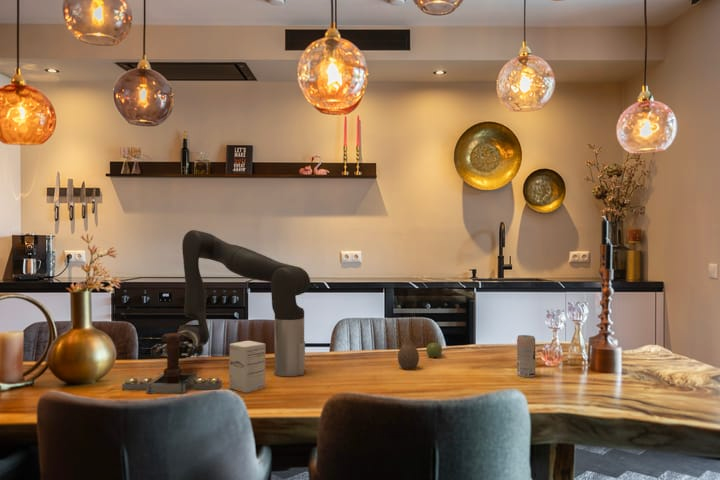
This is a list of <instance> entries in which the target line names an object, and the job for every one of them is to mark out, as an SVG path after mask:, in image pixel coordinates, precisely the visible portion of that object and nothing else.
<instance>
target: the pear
mask: <svg viewBox="0 0 720 480" xmlns="http://www.w3.org/2000/svg"><path fill="white" fill-rule="evenodd" d="M425 351H426V354H427V355H428V356H429V357H430V358H432V357H437V358H439V357H440V356H441V355H442V351H443V347H442V345H441V344H440V343H438V342H431V343H428V345H426V350H425Z"/></svg>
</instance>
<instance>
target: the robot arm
mask: <svg viewBox="0 0 720 480" xmlns="http://www.w3.org/2000/svg"><path fill="white" fill-rule="evenodd" d="M181 243H182V246H181V247H182V248H181V249H182V260H183V272H184V283H185V284H184V285H185V291H184V293H185V295H184V308H183V313H184V316H185V317H186V318H191V319H194V320H196V321H197V322H198V324H183V325H180V326H179V327H178V328H177V332H176V333H182V334H183V335H184V339H183V340H180V341H179V360H180V359H181V360H182V359H186V358H191V357H194V356H195V355H196V354H197V355H198V356H201V355H203V353H204V350H205V349H204V347H205V345H207V344H208V342H209V340H210V329H209V327H208V322H207V316H206V314H207V313H206V305H207V289H206V287H205V283H204V281H203V278H202V274H201V272H200V266H199V259H204V260H210V261H214V262H217V263H220V264H222V265H224V266H225V268H226V269H227V270H229V271H230V272H232V273H234V274H236V275H238V276H240V277H243V278H246V279H250V280H254V281H261V282H268V283H270V284H271V285H270V289H271V291H270V292H271V293H270V294H271V307H272V311H273V314H274V375H276V376H279V377H297V376H304V375H305V372H306V342H305V309H304V308H303V307H301V306H299V305H298V303H297V297H296V296H301V295H302V294H303V295H304V293H306V292H307V291H308V290H309V288H310V287H311V286H310V285H311V278H310V275H309V273H308V272H307V271H306V270H305V269H304V268H302V267H300V266H295V265H290V264H288V263H283V262H280V261H278V260H274V259H273V258H271V257H268V256H266V255H264V254H262V253H259V252H257V251H254V250H253V249H249V248H247V247H243V246H240V245H237V244H231V243H228V242H227V241H224V240H222V239H221V238H218V237H217V236H215V235H213V234H211V233H208V232H205V231H201V230H196V229H192V230H189V231H187V232H186V233H185V235H184V236H183V238H182V242H181ZM150 356H151V357H154V358H155V359H160V358H162V357H168V355H167V343H165V344H161V343H155V345H153V346H151V347H150Z"/></svg>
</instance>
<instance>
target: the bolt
mask: <svg viewBox="0 0 720 480" xmlns="http://www.w3.org/2000/svg"><path fill="white" fill-rule="evenodd" d="M183 339H184V335H183V334H182V333H177V332H170V333H164V334H163V335H161V341H163V342H166V344H167V355H168V356H166V368H164V369H163V374H164V375H165V376H166V377H167V380H168V381H167V383H179V376H180V375H181V374H183V368H182V367H180V359H179V341H180V340H183Z"/></svg>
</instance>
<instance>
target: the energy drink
mask: <svg viewBox="0 0 720 480" xmlns="http://www.w3.org/2000/svg"><path fill="white" fill-rule="evenodd" d="M516 369H517V370H516V372H517V373H516V374H517V376H519V377H521V378H530V379H531V378H534V377H535V376H536V338H535V336H534V335H530V334H529V335H528V334H521V335H517V338H516Z"/></svg>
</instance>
